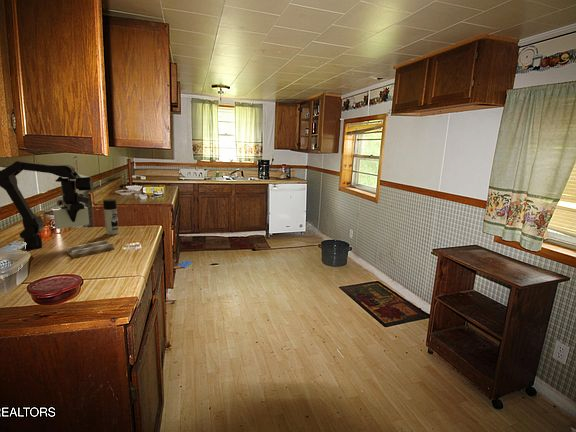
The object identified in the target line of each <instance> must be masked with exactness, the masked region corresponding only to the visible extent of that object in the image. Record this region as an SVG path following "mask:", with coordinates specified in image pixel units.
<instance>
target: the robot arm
mask: <svg viewBox="0 0 576 432" xmlns="http://www.w3.org/2000/svg"><path fill="white" fill-rule="evenodd" d="M22 171H29V172H39V173H47V174H52V175H54V176H58V177H57V178H56V179H55V182H57V183H59V182H60V187H61V192H60V195H61V196H62V199H58V200H57V201H56V205H57V206H59V207H60V209H66V211H67V213H68V215H69V217H70V219H71V221H72V222H75V219H76V215H77V212H78V211H79V210H81V209H85V208H84V207H85V205H84V204H86V205H89V203H90V199H91V197H87V196H85V195H84V194H83V193H78V192H77V190H78V191H82V192H83V191H89V192H90V191H91V192H92V191H93V190H94V182H93V180H92V176H87V177H84V176H80V175H79V173H77V172H76V170H75V167H74V166H73V165H71V164H45V163H37V162H29V161H23V160H18V161H14V162H13V163H12V164H11V165H9V166H7V167H5V168H3V169H2V170H0V188H2V189H3V190H4V191H6V193H7V195H8V197H9V198H10V200H11V202H12V203H13V205H14V207H15V209H16V210H17V211H18V213H19V215H20V216H21V220H22V225H23V228H24V229H23V230H22V231H21V232H20V233H19V234H18V235H19V237H20V238H21V239H22V242H23V241H24V242H26V243H27V245H26V250H25V251H30V250H36V249H41V248H43V242H42V241H43V240H42V239H43V238H42V237H41V236H40V233H41V232H42V231H43V229H44V227H45V221H44V219H42V216H41V215H36V214H34V212H33V210H32V209H31V208H30V206H29V204H28V201H27V200H26V198H25V197H24V195H23V194H22V192H21V189H20V188H19V187H18V178H17V177H16V176H18V175H20V173H21V172H22ZM67 208H68V209H67Z"/></svg>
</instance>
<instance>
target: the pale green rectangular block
mask: <svg viewBox="0 0 576 432" xmlns="http://www.w3.org/2000/svg"><path fill="white" fill-rule="evenodd" d="M84 208H85V209H81V210H79V211H78V212H77V215H76V219H75V222H72V221H71V219H70V217H69V215H68V213H67V211H66V209H61V208H60V209H58V208H57V209H53V210H52V211H53V213H52V214H53V220H54V221H53V222H54V228H55V229H57V230H62V229H67V228H73V227H74V228H75V227H83V226H89V225H90V218H89V209H88V208H89V207H87V206H84ZM67 209H68V208H67Z"/></svg>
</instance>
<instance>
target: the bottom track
mask: <svg viewBox="0 0 576 432" xmlns="http://www.w3.org/2000/svg"><path fill="white" fill-rule="evenodd" d="M113 250H115V246H114V243H113V242H111V243H109V242H108V240H107V239H106V240H101V241H96V242H91V243H85V244H80V245H74V246H71V247H70V246H68V247H66V251H65V253H66V254H67V255H68V256H70V257H72V258H73V259H76V258H81V257H84V256H90V255H94V254H99V253H103V252H108V251H109V252H110V251H113Z"/></svg>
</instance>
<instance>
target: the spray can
mask: <svg viewBox="0 0 576 432" xmlns="http://www.w3.org/2000/svg"><path fill="white" fill-rule="evenodd" d="M102 203H103V215H104V225H105V234H106V235H109V236H111V235H113V236H114V235H118V234H120V233H119V232H120V230H119V218H118V208H117V200H116V199H111V198H110V199H109V198H108V199H104V200H103V201H102Z"/></svg>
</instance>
